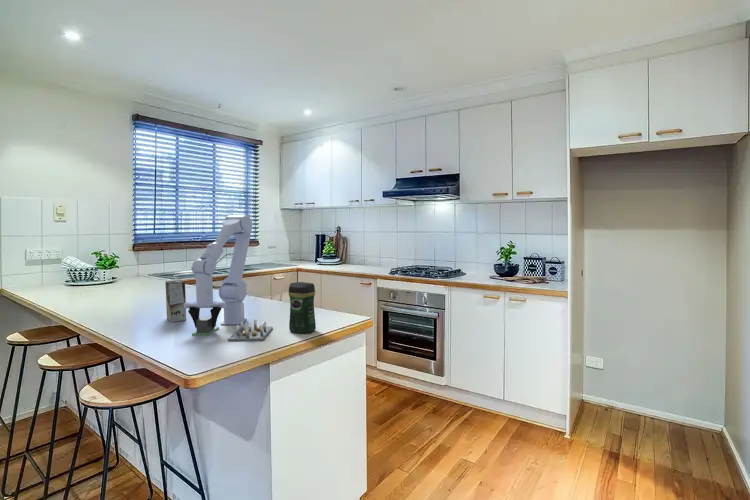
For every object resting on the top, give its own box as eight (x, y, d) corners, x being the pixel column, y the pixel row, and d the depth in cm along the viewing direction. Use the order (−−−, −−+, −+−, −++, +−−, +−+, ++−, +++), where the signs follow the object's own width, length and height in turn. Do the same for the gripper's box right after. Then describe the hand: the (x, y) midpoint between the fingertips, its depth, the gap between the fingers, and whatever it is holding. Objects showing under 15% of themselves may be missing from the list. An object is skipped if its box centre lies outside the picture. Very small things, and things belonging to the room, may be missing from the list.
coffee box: (187, 320, 169) (185, 282, 168) (170, 322, 166) (168, 283, 165) (182, 316, 177) (181, 279, 176) (166, 318, 173) (164, 281, 172)
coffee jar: (319, 330, 154) (318, 281, 153) (306, 335, 147) (306, 284, 146) (298, 327, 158) (298, 280, 157) (285, 332, 151) (284, 282, 150)
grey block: (203, 329, 156) (203, 315, 155) (218, 329, 156) (218, 315, 155) (192, 336, 147) (191, 321, 146) (208, 336, 147) (207, 321, 146)
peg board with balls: (241, 328, 156) (241, 318, 155) (272, 328, 156) (272, 318, 156) (228, 341, 140) (227, 329, 139) (263, 340, 140) (262, 329, 140)
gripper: (179, 293, 146) (181, 330, 147) (220, 292, 146) (221, 329, 147) (188, 289, 153) (189, 325, 154) (226, 289, 153) (227, 324, 154)
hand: (205, 327), depth 151 cm, fingers open, 5 cm apart
